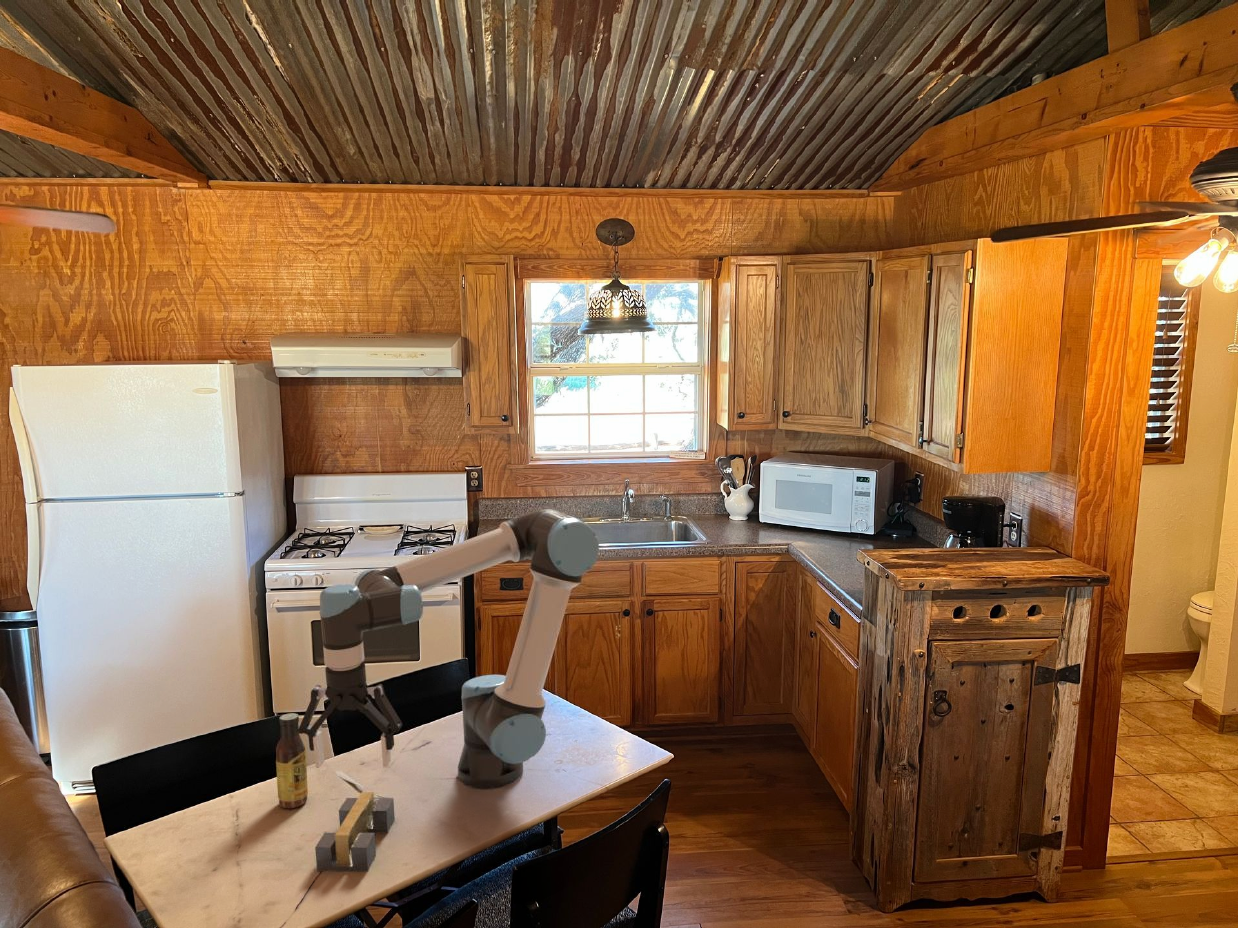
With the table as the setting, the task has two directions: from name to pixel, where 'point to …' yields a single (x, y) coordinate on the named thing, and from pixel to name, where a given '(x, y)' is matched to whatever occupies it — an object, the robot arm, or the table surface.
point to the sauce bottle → (291, 764)
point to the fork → (356, 784)
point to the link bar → (354, 826)
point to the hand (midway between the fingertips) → (353, 764)
